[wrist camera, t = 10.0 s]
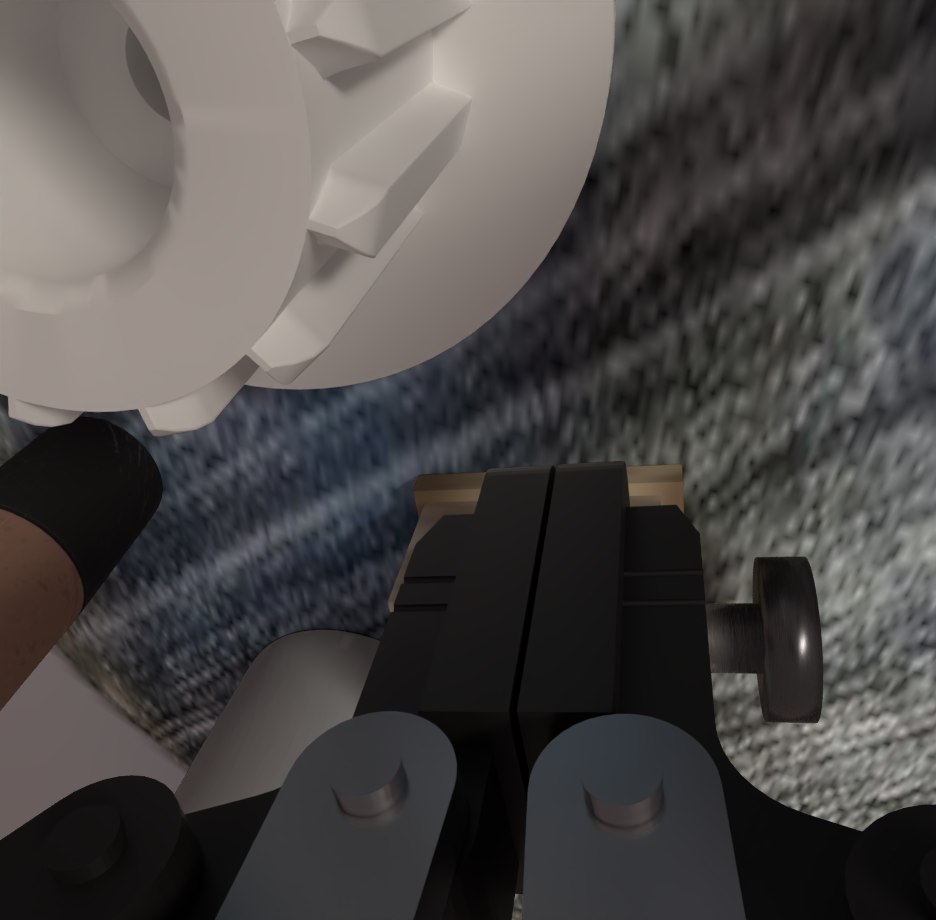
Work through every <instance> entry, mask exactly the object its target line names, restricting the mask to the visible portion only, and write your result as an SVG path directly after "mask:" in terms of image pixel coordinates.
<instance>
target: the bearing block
mask: <svg viewBox="0 0 936 920" xmlns="http://www.w3.org/2000/svg"><path fill="white" fill-rule="evenodd" d="M626 470H627V477H628V487H629V498H630V507H633V506H656V505H677V506H678V507H679V508H680V510H681V511H682V512H683V513H684V503H683V479H682V464H681V465H656V466H631V467H626ZM485 474H486V472H481V473H456V474H432V475H419V477H418V480H417V482H416V485H415V487H414V490H413V494H414V499H415V503H416V508H417V512H418V517H419V520H418V523H417V526H416V528H415V531H414V533H413V536H412V539H411V541H410V544H409V547H408V549H407V552H406V555H405V557H404V560H403V563H402V565H401V568H400V571H399V573H398V576H397V579H396V581H395V584H394V587H393V589H392V592H391V595H390V597H389V600H388V606H389V609H390V613H391V612H394V602H395V599H396V596H397V594H398V591H399V588H400V585H401V584H404V574H405V572H406V569H407V566H408V563H409V561H410V558H411V555H412V552H413V550H414V547H415V544H416V543H417V542H418V541H419V540H420V539H421V538H422V537H423V536H424V535H425V534H426V533H427V532H428V531H429V530H430V529H431V528H432V527H433V526H434V525H435V524H436V523H437V522H438V521H439V520H440V518H441V517H442V516H443V515H458V514H474V512H475V509H476V505H477V502H478V498H479V495H480V491H481V488H482V484H483V481H484V477H485Z"/></svg>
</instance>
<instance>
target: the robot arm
mask: <svg viewBox="0 0 936 920" xmlns="http://www.w3.org/2000/svg"><path fill="white" fill-rule="evenodd" d="M515 894H523V902H522V920H936V805H919V806H912V807H906V808H903V809H900V810H897V811H894V812H891V813H888V814H886V815H885V816H883V817H881V818H879V819H877V820H876V821H874V822H873V823H872V824H871V825H869V826H868V827H867V828H866V829H865V830H864V831H863V832H862V831H859V830H855V829H852V828H849V827H846V826H843V825H840V824H836V823H833V822H830V821H827V820H824V819H820V818H817V817H814V816H811V815H808V814H805V813H802V812H800V811H797V810H794V809H792V808H789V807H787V806H785V805H783V804H781V803H779V802H777V801H775V800H773V799H772V798H770V797H768V796H767V795H765V794H764V793H762V792H761V791H760V790H758V789H757V788H755V787H754V786H753V785H752V784H751V783H749V782H748V781H747V780H746V779H745V778H744V777H743V776H742V775H741V774H740V773H739V772H738V771H737V770H736V768H735V767H734V766H733V765H732V764H731V762H730V761H729V759H728V757H727V756H726V754H725V752H724V751H723V749H722V746H721V744H720V741H719V739H718V736H717V731H716V725H715V716H714V704H713V692H712V679H711V667H710V655H709V643H708V630H707V618H706V606H705V594H704V582H703V570H702V557H701V545H700V533H699V532H698V531H697V530H696V528H695V527H694V526H693V525H692V523H691V522H690V521H689V520H688V518H687V517H686V516H685V515H684V513H683V512H682V511H681V510H680V508H679V507H678V506H677V505H656V506H633V507H630V498H629V487H628V477H627V470H626V464H625V461H614V462H596V463H578V464H560V465H558V466H557V469H555V467H554V465H547V466H529V467H511V468H494V469H488V470H487V472H486V474H485V477H484V481H483V484H482V488H481V491H480V495H479V498H478V502H477V505H476V509H475V512H474V514H458V515H443V516H442V517H441V518H440V520H439V521H438V522H437V523H436V524H435V525H434V526H433V527H432V528H431V529H430V530H429V531H428V532H427V533H426V534H425V535H424V536H423V537H422V538H421V539H420V540H419V541H418V542H417V543H416V544H415V547H414V550H413V552H412V555H411V558H410V561H409V563H408V566H407V569H406V572H405V574H404V584H401V585H400V588H399V591H398V594H397V596H396V599H395V602H394V612H391V613H390V616H389V618H388V621H387V624H386V627H385V629H384V632H383V635H382V638H381V640H380V643H379V646H378V648H377V651H376V654H375V657H374V659H373V662H372V665H371V668H370V670H369V673H368V676H367V679H366V681H365V684H364V687H363V690H362V692H361V695H360V698H359V701H358V703H357V706H356V709H355V712H354V714H353V717H352V718H351V719H349V720H346V721H344V722H341V723H340V724H338V725H336V726H334V727H332V728H330V729H329V730H327V731H326V732H324V733H323V734H322V735H320V736H319V737H317V738H316V739H315V740H314V741H313V742H312V743H311V744H310V745H309V746H307V747H306V748H305V750H304V751H303V752H302V753H301V754H300V756H299V757H298V758H297V759H296V761H295V762H294V764H293V766H292V767H291V769H290V771H289V773H288V775H287V777H286V779H285V781H284V783H283V785H282V787H279V788H277V789H275V790H272V791H269V792H266V793H263V794H260V795H257V796H253V797H249V798H245V799H241V800H238V801H234V802H230V803H226V804H222V805H218V806H215V807H211V808H207V809H203V810H199V811H196V812H192V813H188V814H184V812H183V810H182V808H181V806H180V804H179V803H178V801H177V799H176V797H175V795H174V794H173V792H172V791H171V790H170V789H169V788H168V787H167V786H166V785H164V784H163V783H161V782H159V781H157V780H155V779H152V778H148V777H145V776H132V775H131V776H119V777H114V778H110V779H105V780H102V781H99V782H96V783H93V784H90V785H88V786H86V787H84V788H81V789H79V790H77V791H75V792H73V793H72V794H70V795H68V796H67V797H65V798H63V799H62V800H60V801H58V802H57V803H55V804H54V805H52V806H51V807H49V808H48V809H46V810H45V811H43V812H42V813H40V814H39V815H37V816H36V817H34V818H33V819H32V820H30V821H28V822H27V823H25V824H24V825H23V826H21V827H19V828H18V829H16V830H15V831H14V832H12V833H11V834H9V835H7V836H6V837H4V838H3V839H2V840H0V920H512V913H513V905H514V898H515Z"/></svg>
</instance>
